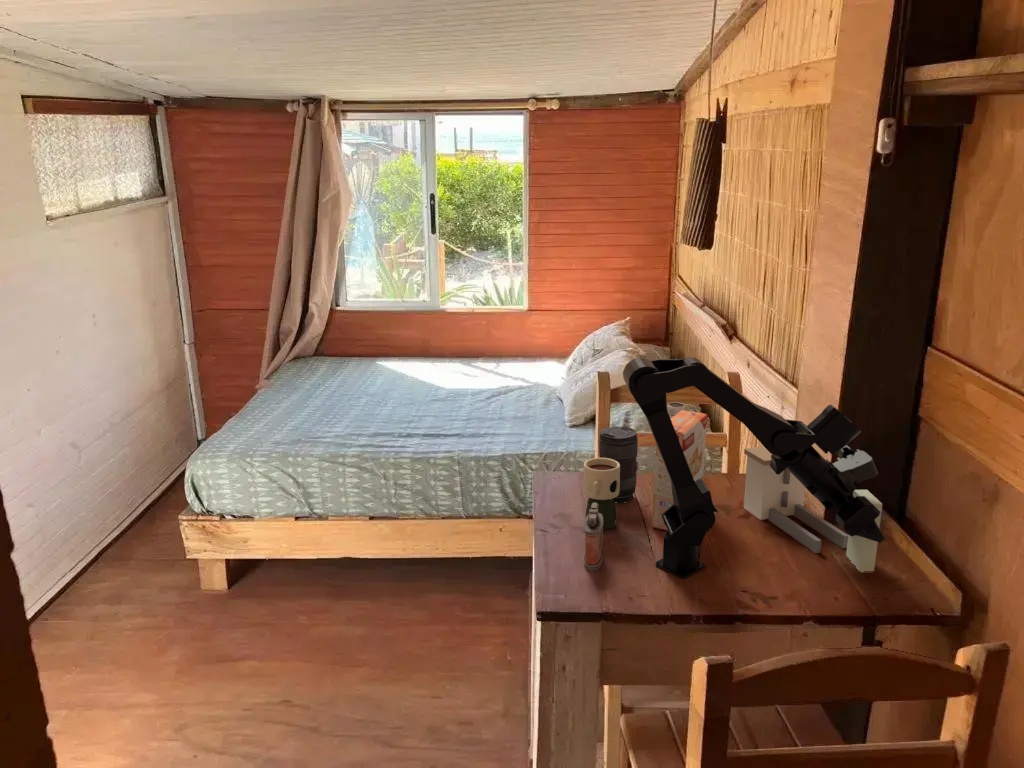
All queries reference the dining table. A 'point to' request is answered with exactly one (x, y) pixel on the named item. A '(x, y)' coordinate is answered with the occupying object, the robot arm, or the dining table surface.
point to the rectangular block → (864, 540)
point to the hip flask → (593, 538)
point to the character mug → (602, 487)
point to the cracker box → (693, 445)
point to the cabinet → (783, 501)
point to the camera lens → (621, 457)
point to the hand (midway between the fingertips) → (870, 528)
